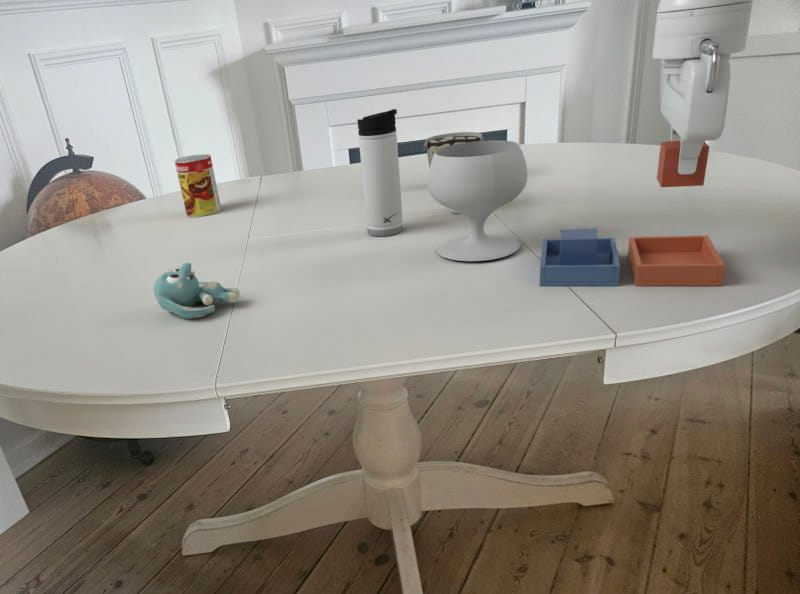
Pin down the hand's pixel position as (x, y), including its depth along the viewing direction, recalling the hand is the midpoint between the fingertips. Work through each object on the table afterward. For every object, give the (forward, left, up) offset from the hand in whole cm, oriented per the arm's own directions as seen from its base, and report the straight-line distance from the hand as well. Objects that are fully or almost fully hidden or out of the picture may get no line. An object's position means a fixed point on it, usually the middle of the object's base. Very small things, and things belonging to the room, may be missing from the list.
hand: (681, 167), depth 75 cm
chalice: (+25, -9, -13) cm, 29 cm away
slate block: (+11, 0, -12) cm, 16 cm away
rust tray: (0, 0, -13) cm, 13 cm away
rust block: (0, 0, -2) cm, 2 cm away
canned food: (+89, -39, -13) cm, 98 cm away
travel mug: (+42, -20, -13) cm, 48 cm away
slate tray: (+11, 0, -13) cm, 17 cm away
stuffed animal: (+61, +14, -13) cm, 64 cm away
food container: (+35, -54, -13) cm, 65 cm away
